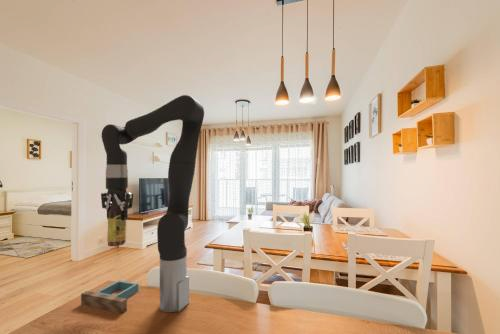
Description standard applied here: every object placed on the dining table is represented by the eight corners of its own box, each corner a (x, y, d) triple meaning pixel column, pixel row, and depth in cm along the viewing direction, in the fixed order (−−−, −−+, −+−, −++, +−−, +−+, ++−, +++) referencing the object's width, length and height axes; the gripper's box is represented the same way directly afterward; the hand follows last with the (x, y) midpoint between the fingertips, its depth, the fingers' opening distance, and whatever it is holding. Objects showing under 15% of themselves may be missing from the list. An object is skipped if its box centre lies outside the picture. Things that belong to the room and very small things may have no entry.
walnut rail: (126, 310, 81) (126, 298, 81) (121, 313, 79) (121, 301, 79) (86, 301, 86) (86, 290, 87) (81, 304, 85) (81, 293, 85)
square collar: (138, 291, 94) (138, 283, 94) (114, 305, 84) (114, 297, 84) (119, 287, 97) (119, 280, 97) (94, 301, 87) (94, 293, 87)
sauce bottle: (117, 247, 87) (117, 193, 87) (103, 246, 88) (103, 193, 89) (130, 242, 93) (129, 192, 94) (116, 241, 94) (116, 192, 95)
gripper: (139, 176, 93) (139, 218, 92) (111, 176, 97) (111, 217, 97) (123, 176, 86) (123, 222, 85) (94, 177, 90) (94, 220, 90)
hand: (117, 219), depth 91 cm, fingers closed on sauce bottle, 6 cm apart
